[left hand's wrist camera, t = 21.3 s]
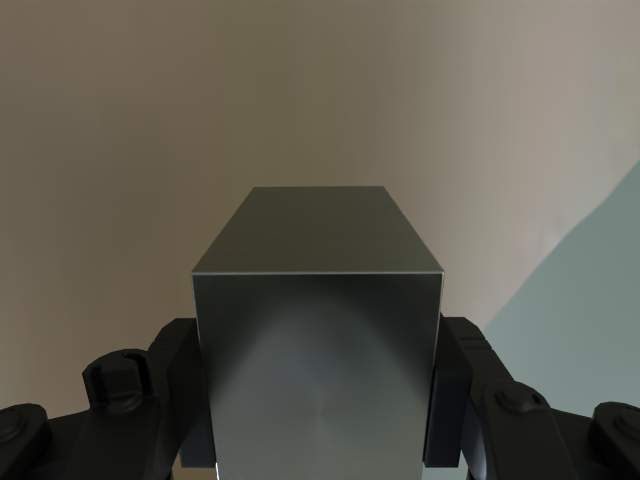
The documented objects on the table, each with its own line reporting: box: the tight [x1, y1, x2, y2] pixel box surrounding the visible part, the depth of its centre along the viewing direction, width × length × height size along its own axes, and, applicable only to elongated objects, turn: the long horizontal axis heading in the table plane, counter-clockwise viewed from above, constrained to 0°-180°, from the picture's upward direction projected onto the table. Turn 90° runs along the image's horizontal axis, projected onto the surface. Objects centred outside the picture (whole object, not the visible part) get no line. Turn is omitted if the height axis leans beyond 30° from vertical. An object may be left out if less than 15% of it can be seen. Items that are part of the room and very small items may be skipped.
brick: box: [191, 186, 445, 480], centre depth 12 cm, size 7×5×8 cm
